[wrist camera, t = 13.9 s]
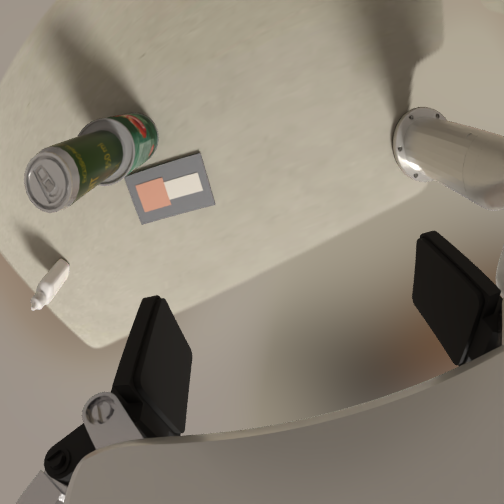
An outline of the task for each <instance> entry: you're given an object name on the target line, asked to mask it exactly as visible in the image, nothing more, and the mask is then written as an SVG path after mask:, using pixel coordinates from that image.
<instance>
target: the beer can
mask: <svg viewBox="0 0 504 504" xmlns="http://www.w3.org/2000/svg"><path fill="white" fill-rule="evenodd" d="M122 160H123V147H122V144H121V142H120V140H119V139H118V138H117V136H116V135H115V134H113V133H111V132H109V131H105V130H99V131H95V132H92V133H88V134H85V135H82V136H79V137H76V138H72V139H69V140H66V141H64V142H61V143H58V144H55V145H52V146H50V147H47V148H44V149H42V150H41V151H40V152H39V153H37V154H36V156H34V157H33V158H32V159H31V160H30V162H29V163H28V165H27V167H26V171H25V177H24V184H25V189H26V193H27V195H28V197H29V199H30V201H31V202H32V203H33V204H34V205H35V206H36V207H37V208H38V209H40V210H42V211H44V212H48V213H52V212H57V211H59V210H64V209H66V208H67V207H69V206H70V205H72V204H73V203H74V202H76V201H77V200H78V199H79V198H81V197H82V196H83V195H85V194H86V193H87V192H89V191H90V190H91V189H93V188H94V187H96V186H97V185H98V184H100V183H101V182H102V181H104V180H105V179H107V178H108V177H110V176H111V175H112V174H114V173H115V172H116V171H117V170H118V169H119V167H120V165H121V163H122Z"/></svg>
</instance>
